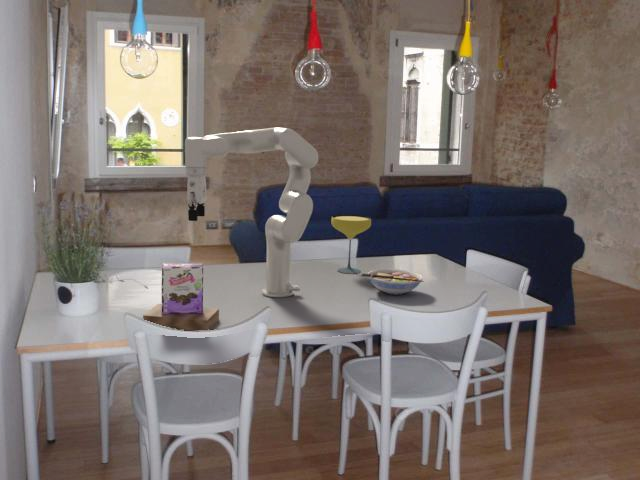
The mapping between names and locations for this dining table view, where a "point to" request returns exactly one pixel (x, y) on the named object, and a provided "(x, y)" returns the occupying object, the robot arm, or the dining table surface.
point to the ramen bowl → (394, 280)
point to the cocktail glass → (350, 231)
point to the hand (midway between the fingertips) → (196, 218)
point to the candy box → (182, 288)
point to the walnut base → (183, 319)
